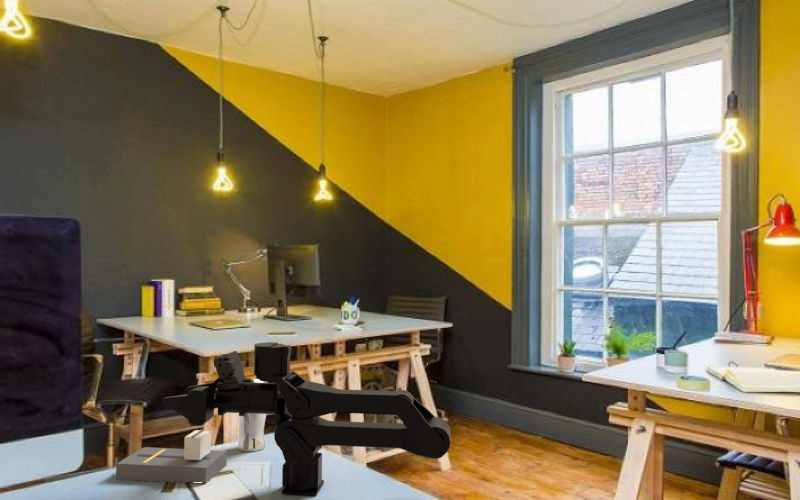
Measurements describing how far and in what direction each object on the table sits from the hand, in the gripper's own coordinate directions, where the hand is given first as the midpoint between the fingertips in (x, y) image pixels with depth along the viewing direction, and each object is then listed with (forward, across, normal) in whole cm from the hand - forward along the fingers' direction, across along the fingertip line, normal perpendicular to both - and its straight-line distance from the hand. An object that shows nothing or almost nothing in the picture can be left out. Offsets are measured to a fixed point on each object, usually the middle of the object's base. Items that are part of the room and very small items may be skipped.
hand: (175, 395), depth 111 cm
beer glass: (-7, -22, +17) cm, 29 cm away
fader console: (+3, -5, +16) cm, 17 cm away
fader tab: (-2, -5, +13) cm, 14 cm away
